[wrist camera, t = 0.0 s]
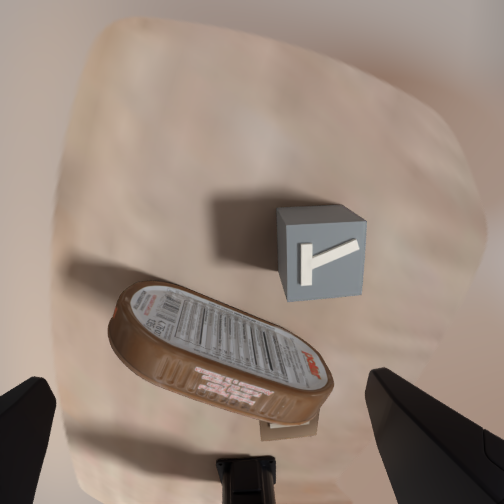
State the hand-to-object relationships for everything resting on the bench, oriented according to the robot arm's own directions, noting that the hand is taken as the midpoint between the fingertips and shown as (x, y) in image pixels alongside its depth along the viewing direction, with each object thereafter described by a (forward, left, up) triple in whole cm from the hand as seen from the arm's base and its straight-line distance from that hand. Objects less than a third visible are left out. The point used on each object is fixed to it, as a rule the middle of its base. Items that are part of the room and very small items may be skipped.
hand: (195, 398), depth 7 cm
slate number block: (-1, -6, -15) cm, 16 cm away
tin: (-7, 0, -15) cm, 16 cm away
